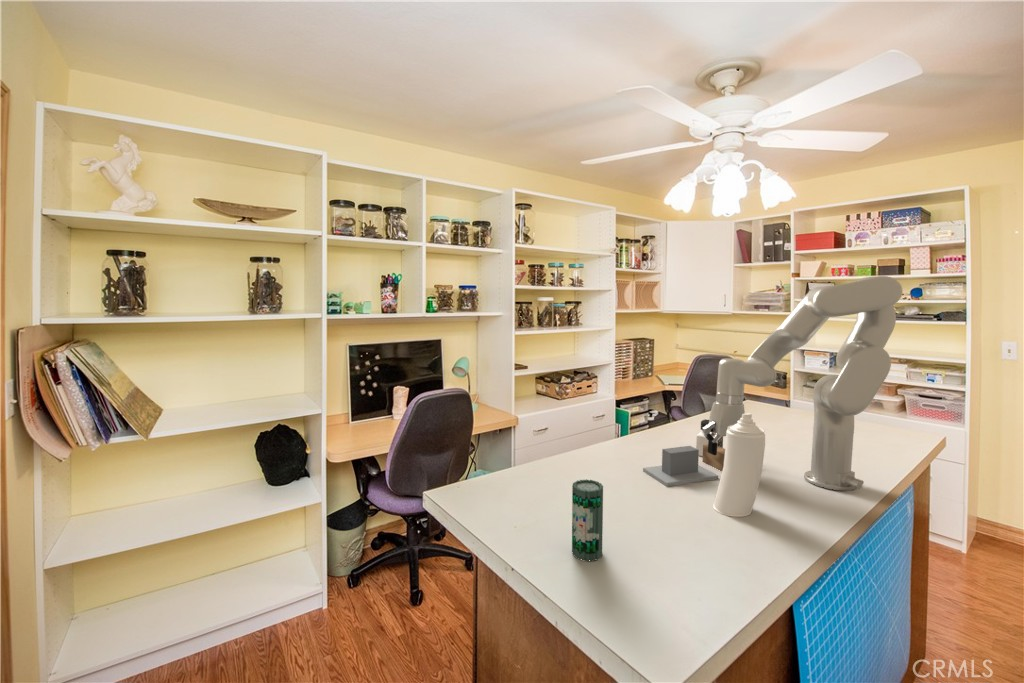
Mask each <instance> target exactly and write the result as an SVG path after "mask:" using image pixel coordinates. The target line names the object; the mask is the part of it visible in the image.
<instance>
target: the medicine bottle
mask: <svg viewBox="0 0 1024 683" xmlns="http://www.w3.org/2000/svg"><path fill="white" fill-rule="evenodd" d="M708 424H709V419H708V418H707V419H705V418H704V419H702V420H701V421H700V432H699V433H698V434H696V438H695V440H696V441H695V448H696V449H698V450H699V457H702V456H703V445H706V444H708V441H709V440H707V438H706V437H705V436H704V432H703V429H702V428H703V427H705V426H706V425H708ZM710 433H711V432H710ZM714 436H715V435H714ZM714 436H713V438H714ZM716 443H717V446H720V447H722V448H724V436H720V437H719V438H718V440H717V441H716Z"/></svg>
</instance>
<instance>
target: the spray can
mask: <svg viewBox="0 0 1024 683" xmlns="http://www.w3.org/2000/svg"><path fill="white" fill-rule="evenodd" d="M752 417H753V414H752V413H751V412H747V413H746V412H745V414H742V418H740V420H738V421H737V424H735V425H731V426H728V429H727V431H726V436H725V447H724V449H725V457H724V467H723V471H722V472H721V476H720V479H719V483H718V487H717V491H716V496H715V498H714V502H713V504H712V508H713V510H715V511H716V512H717V513H719V514H722V515H723V516H728V517H735V518H744V517H748V516H749V515H751V513H752V510H753V508H754V505H755V502H756V499H757V498H756V497H757V494H758V491H759V490H758V489H759V486H760V481H761V477H762V473H763V464H764V457H765V449H766V434H765V430H764V429H763V428H761V427H759V426H758V425H757V424H756V422H754V420H753V418H752Z"/></svg>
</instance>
